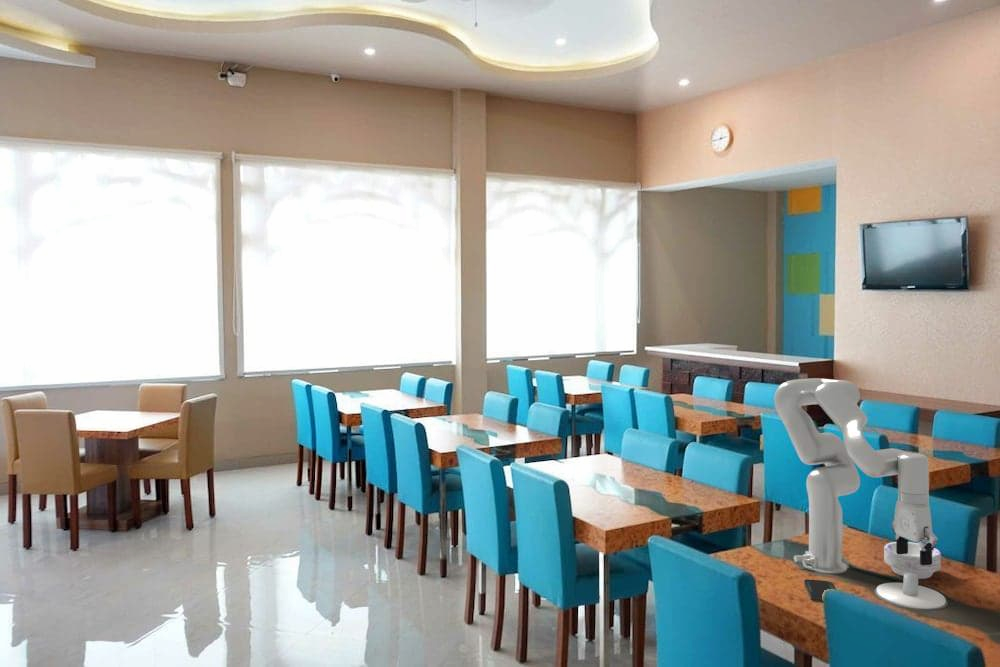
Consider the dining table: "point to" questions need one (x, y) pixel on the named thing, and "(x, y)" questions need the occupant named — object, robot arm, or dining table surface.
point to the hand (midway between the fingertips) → (913, 559)
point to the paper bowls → (911, 560)
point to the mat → (911, 608)
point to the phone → (817, 588)
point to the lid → (911, 594)
